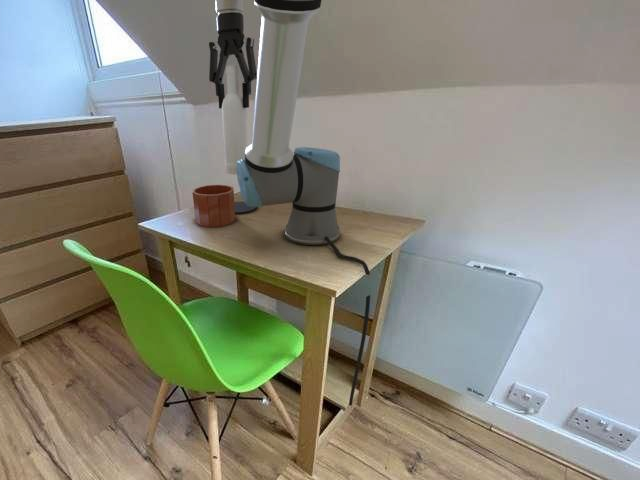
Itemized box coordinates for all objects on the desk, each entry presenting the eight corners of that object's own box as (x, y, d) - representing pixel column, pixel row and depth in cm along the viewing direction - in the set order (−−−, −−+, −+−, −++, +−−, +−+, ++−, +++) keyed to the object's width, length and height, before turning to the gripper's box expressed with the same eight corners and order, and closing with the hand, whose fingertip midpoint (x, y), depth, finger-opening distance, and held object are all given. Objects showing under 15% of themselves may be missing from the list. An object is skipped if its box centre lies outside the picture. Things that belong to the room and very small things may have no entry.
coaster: (263, 208, 121) (263, 207, 121) (232, 216, 116) (232, 214, 115) (243, 201, 131) (243, 199, 130) (214, 207, 125) (214, 206, 125)
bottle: (249, 169, 119) (246, 65, 103) (247, 174, 113) (244, 64, 97) (226, 169, 120) (220, 67, 104) (223, 174, 114) (216, 66, 98)
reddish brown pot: (242, 221, 111) (241, 190, 106) (207, 230, 106) (204, 197, 100) (222, 211, 121) (220, 182, 115) (189, 219, 115) (185, 189, 110)
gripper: (269, 10, 93) (269, 106, 105) (205, 20, 101) (212, 107, 113) (257, 6, 87) (259, 108, 99) (191, 17, 96) (199, 109, 108)
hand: (234, 107), depth 106 cm, fingers closed on bottle, 8 cm apart
